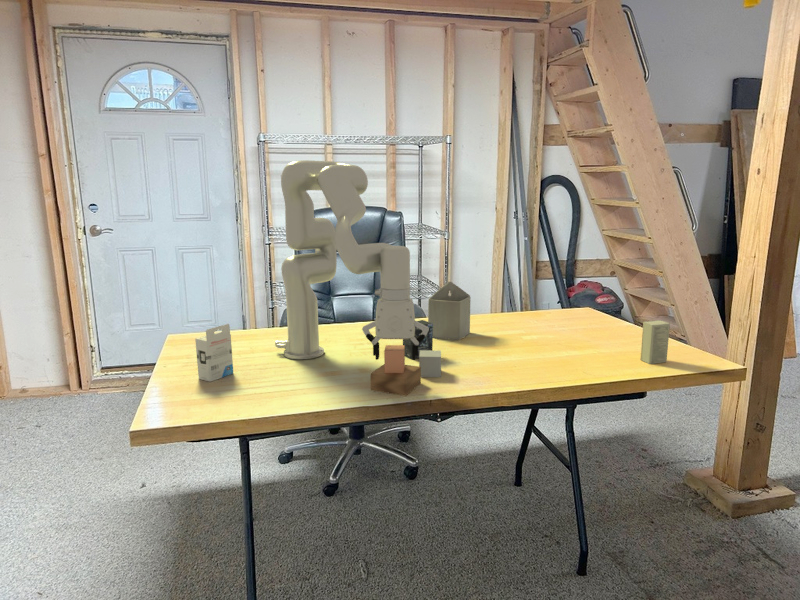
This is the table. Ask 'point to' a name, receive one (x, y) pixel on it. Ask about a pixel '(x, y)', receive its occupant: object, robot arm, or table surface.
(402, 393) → the brown flat square block
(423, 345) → the box
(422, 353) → the grey block
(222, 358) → the ink box
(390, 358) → the terracotta block
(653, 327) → the skincare box
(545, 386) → the table surface
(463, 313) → the planter
